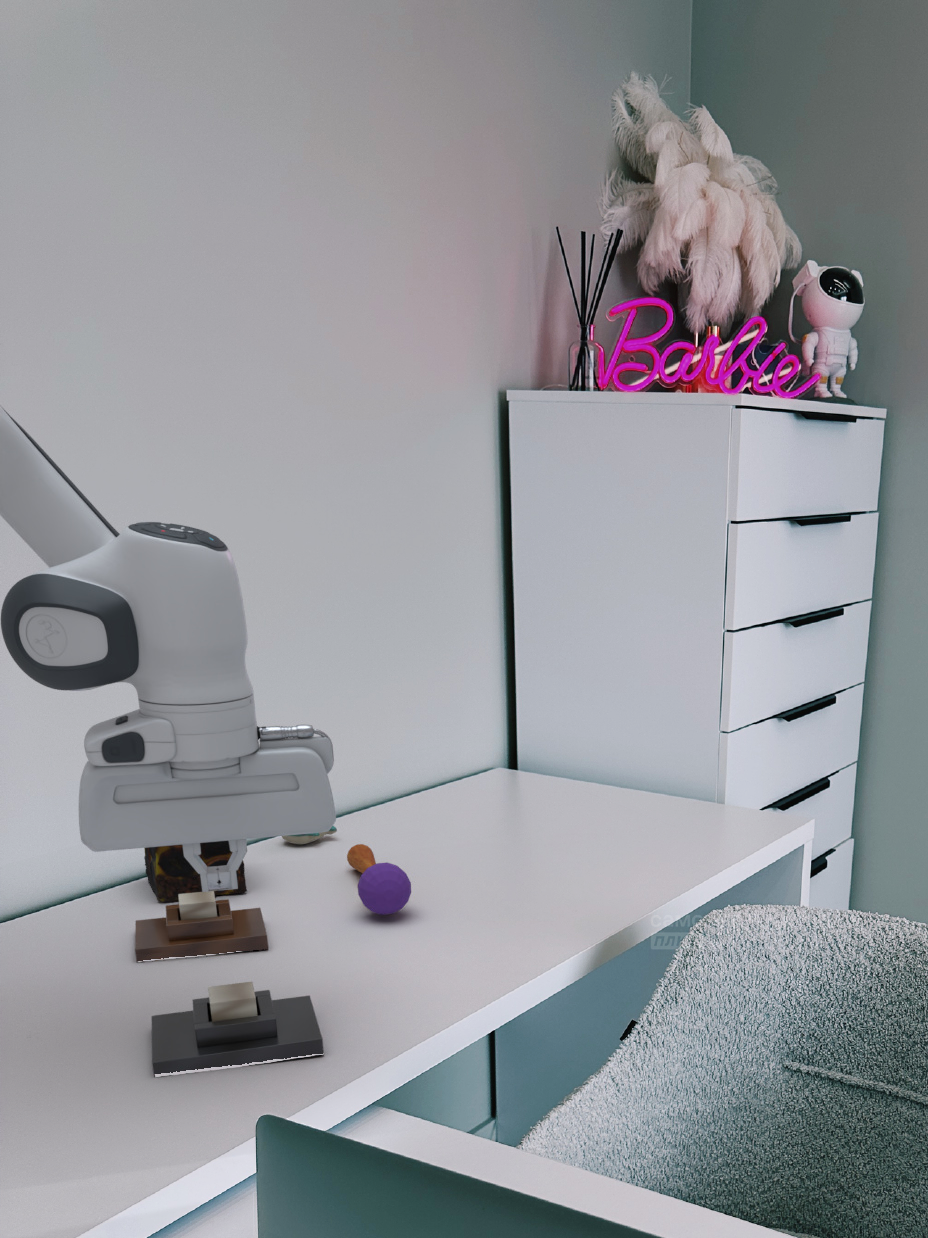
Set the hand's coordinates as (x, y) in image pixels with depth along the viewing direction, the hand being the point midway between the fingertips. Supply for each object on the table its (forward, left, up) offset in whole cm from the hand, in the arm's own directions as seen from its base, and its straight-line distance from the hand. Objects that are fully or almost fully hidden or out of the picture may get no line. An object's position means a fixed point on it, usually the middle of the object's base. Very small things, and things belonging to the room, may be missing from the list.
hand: (220, 888), depth 108 cm
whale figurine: (+13, +62, -15) cm, 65 cm away
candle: (-2, +46, -15) cm, 48 cm away
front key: (0, 0, -12) cm, 12 cm away
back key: (-2, +27, -12) cm, 30 cm away
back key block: (-2, +27, -15) cm, 31 cm away
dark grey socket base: (0, 0, -15) cm, 15 cm away
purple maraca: (+18, +37, -15) cm, 44 cm away
